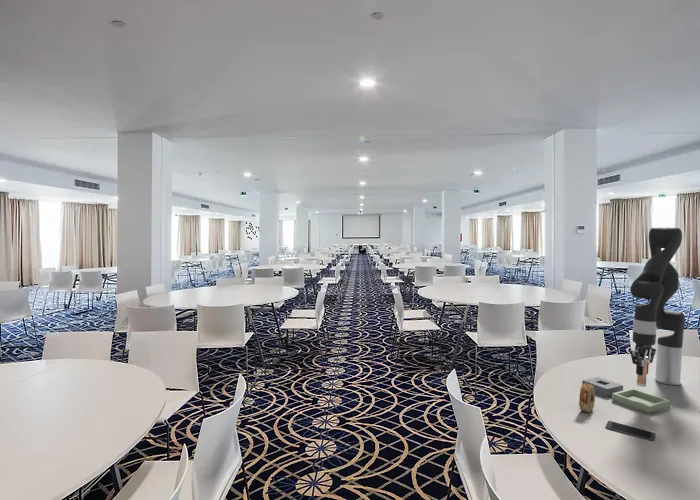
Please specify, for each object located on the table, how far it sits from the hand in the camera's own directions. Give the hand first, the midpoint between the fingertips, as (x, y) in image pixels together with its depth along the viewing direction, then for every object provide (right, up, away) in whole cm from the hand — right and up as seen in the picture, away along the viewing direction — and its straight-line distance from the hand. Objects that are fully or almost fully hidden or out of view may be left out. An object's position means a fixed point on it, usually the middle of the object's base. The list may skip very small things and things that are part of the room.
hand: (641, 374), depth 166 cm
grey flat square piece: (-7, -12, +14) cm, 20 cm away
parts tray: (0, -12, +1) cm, 12 cm away
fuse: (0, -5, 0) cm, 5 cm away
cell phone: (-20, -14, -23) cm, 33 cm away
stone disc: (-26, -12, -7) cm, 29 cm away
